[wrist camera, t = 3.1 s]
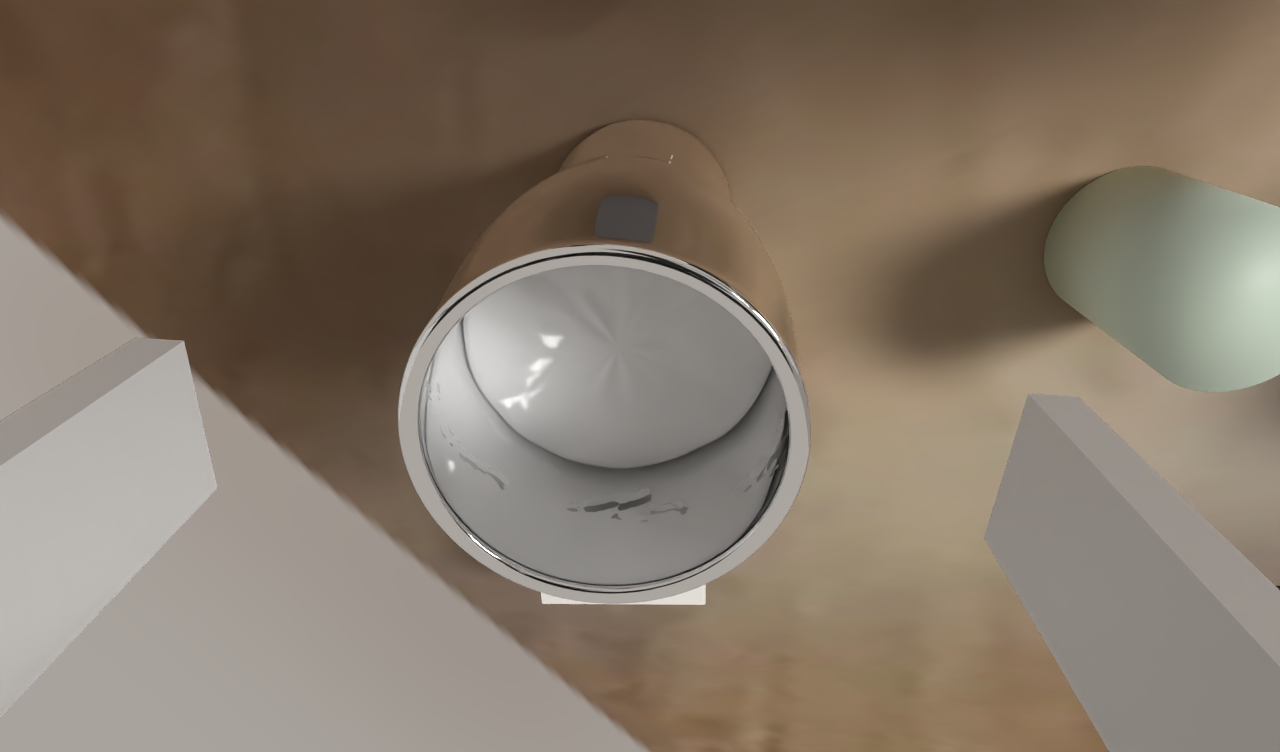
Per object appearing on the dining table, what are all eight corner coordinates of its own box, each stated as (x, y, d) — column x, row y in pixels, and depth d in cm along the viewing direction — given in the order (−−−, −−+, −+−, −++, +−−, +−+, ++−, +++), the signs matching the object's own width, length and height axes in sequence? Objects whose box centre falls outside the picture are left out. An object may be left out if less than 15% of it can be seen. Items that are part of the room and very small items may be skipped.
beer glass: (773, 268, 26) (879, 548, 13) (590, 338, 28) (508, 657, 14) (700, 66, 23) (735, 149, 10) (501, 156, 25) (295, 334, 11)
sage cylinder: (1068, 161, 24) (1181, 206, 19) (1227, 170, 24) (1385, 217, 19) (1026, 308, 26) (1115, 386, 21) (1171, 317, 26) (1299, 398, 21)
